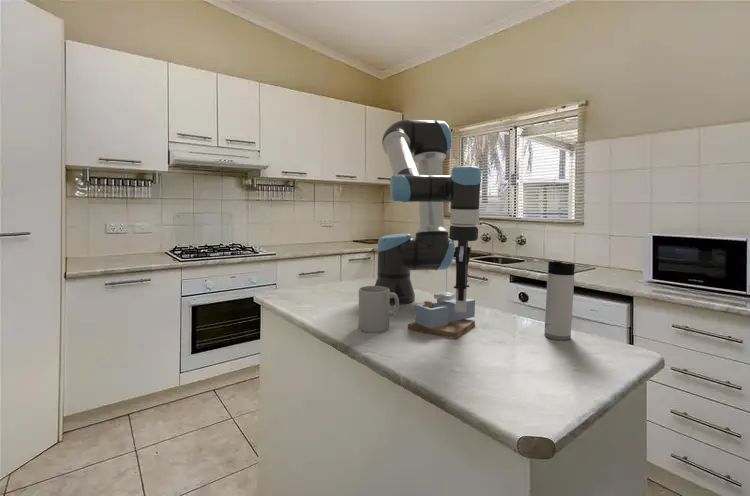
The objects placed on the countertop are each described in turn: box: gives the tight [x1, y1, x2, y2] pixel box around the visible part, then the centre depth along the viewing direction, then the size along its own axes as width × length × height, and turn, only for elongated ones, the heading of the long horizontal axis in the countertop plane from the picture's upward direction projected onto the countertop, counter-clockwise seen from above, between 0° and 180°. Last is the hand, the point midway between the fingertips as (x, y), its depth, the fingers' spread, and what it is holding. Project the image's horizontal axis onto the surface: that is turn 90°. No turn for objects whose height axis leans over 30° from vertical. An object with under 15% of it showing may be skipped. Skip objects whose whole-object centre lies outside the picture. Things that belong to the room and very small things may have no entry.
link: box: [414, 297, 476, 328], centre depth 115 cm, size 18×6×5 cm, turn 123°
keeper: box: [433, 291, 456, 303], centre depth 116 cm, size 5×5×7 cm
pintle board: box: [407, 300, 476, 340], centre depth 113 cm, size 14×14×8 cm
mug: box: [357, 285, 400, 334], centre depth 113 cm, size 12×8×11 cm
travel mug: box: [543, 260, 576, 341], centre depth 105 cm, size 6×7×20 cm
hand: (460, 311), depth 113 cm, fingers closed
